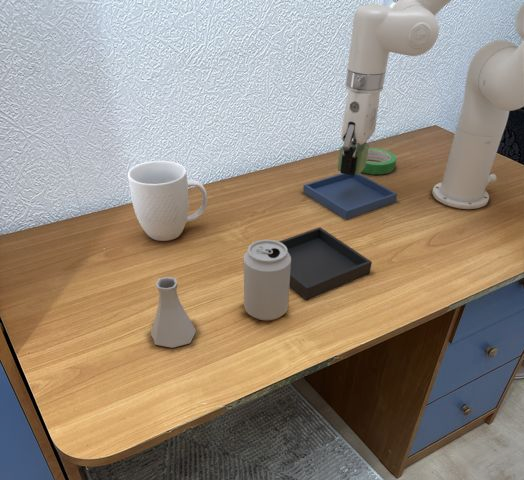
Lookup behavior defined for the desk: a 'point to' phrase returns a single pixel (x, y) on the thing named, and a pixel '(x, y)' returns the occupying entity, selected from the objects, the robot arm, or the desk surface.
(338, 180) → the tray
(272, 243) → the can
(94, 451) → the desk surface
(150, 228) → the mug
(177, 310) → the flask
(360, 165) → the block
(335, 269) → the black shallow box
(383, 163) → the tape roll
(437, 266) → the desk surface
